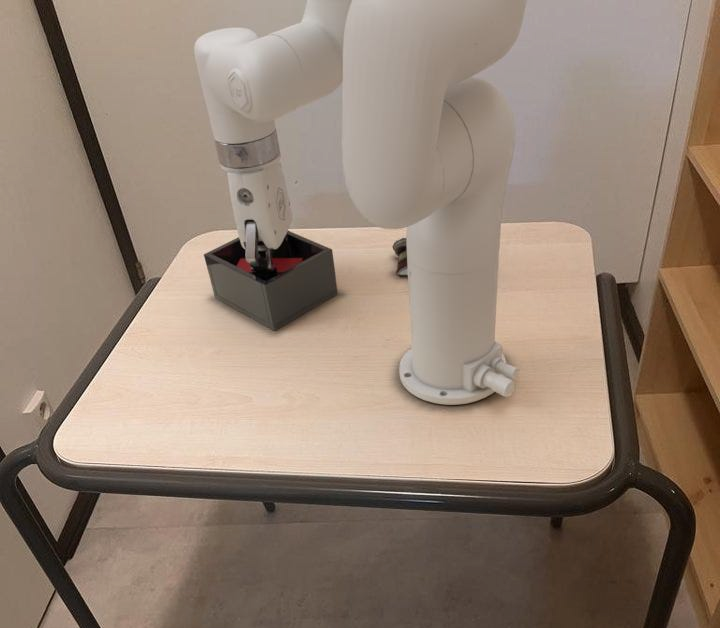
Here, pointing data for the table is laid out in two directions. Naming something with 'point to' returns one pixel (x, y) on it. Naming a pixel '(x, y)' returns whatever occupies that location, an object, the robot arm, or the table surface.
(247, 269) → the red rectangular brick
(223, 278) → the grey storage bin
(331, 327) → the table surface
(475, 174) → the robot arm
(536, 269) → the table surface
